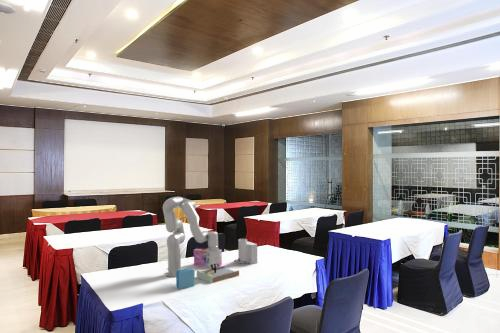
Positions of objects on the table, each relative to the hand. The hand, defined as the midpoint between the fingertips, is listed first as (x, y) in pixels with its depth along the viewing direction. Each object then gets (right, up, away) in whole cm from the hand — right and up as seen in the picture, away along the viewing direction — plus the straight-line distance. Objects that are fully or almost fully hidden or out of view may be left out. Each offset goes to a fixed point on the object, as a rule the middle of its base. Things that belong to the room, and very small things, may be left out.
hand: (214, 272), depth 263 cm
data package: (-18, -4, -20) cm, 27 cm away
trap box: (+3, -4, +3) cm, 6 cm away
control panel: (+21, -4, +40) cm, 46 cm away
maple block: (-3, -2, -4) cm, 5 cm away
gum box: (-9, -4, +34) cm, 35 cm away
